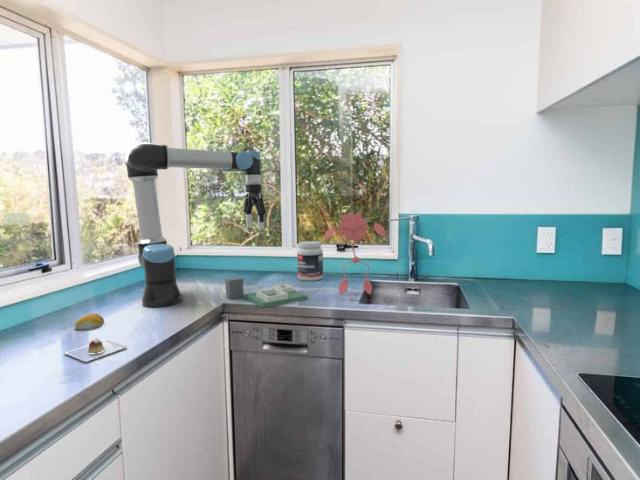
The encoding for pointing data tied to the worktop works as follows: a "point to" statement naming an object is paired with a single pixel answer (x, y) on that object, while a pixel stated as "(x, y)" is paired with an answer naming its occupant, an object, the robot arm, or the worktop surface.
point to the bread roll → (89, 321)
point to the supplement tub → (310, 261)
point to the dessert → (97, 348)
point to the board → (275, 296)
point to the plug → (234, 288)
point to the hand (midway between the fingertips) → (255, 228)
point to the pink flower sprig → (354, 231)
